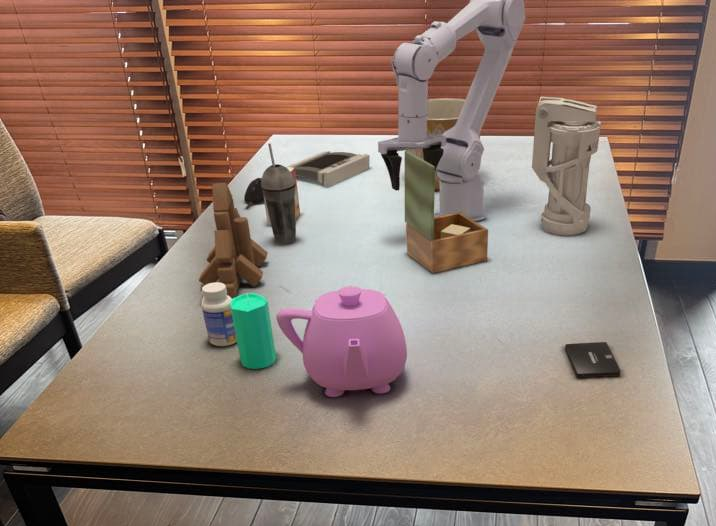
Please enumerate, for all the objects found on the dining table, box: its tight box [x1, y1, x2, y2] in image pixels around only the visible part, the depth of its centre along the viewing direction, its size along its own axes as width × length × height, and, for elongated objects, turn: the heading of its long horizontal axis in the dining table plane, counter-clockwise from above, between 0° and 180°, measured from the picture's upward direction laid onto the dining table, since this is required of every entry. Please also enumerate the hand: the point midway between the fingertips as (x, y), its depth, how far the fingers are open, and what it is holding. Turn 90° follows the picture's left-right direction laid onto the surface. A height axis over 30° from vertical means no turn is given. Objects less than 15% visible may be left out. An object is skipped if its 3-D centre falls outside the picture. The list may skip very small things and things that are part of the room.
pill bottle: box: [200, 281, 237, 347], centre depth 136 cm, size 5×5×10 cm
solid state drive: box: [564, 341, 621, 379], centre depth 129 cm, size 7×10×1 cm
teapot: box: [275, 285, 408, 398], centre depth 122 cm, size 20×20×15 cm
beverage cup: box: [261, 143, 297, 246], centre depth 166 cm, size 7×7×20 cm
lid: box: [404, 150, 436, 240], centre depth 153 cm, size 13×12×1 cm
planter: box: [405, 97, 482, 191], centre depth 194 cm, size 19×19×16 cm
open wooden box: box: [405, 212, 489, 274], centre depth 161 cm, size 13×12×6 cm
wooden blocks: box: [198, 182, 268, 302], centre depth 154 cm, size 25×12×18 cm, turn 2°
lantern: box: [531, 96, 602, 236], centre depth 165 cm, size 13×10×25 cm
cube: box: [441, 224, 471, 239], centre depth 162 cm, size 4×4×4 cm
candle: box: [230, 292, 277, 370], centre depth 130 cm, size 6×6×12 cm
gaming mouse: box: [244, 177, 265, 210], centre depth 193 cm, size 6×15×4 cm, turn 165°
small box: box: [260, 166, 301, 226], centre depth 179 cm, size 8×6×10 cm
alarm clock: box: [287, 151, 370, 188], centre depth 206 cm, size 17×5×16 cm
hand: (411, 186), depth 165 cm, fingers open, 7 cm apart
